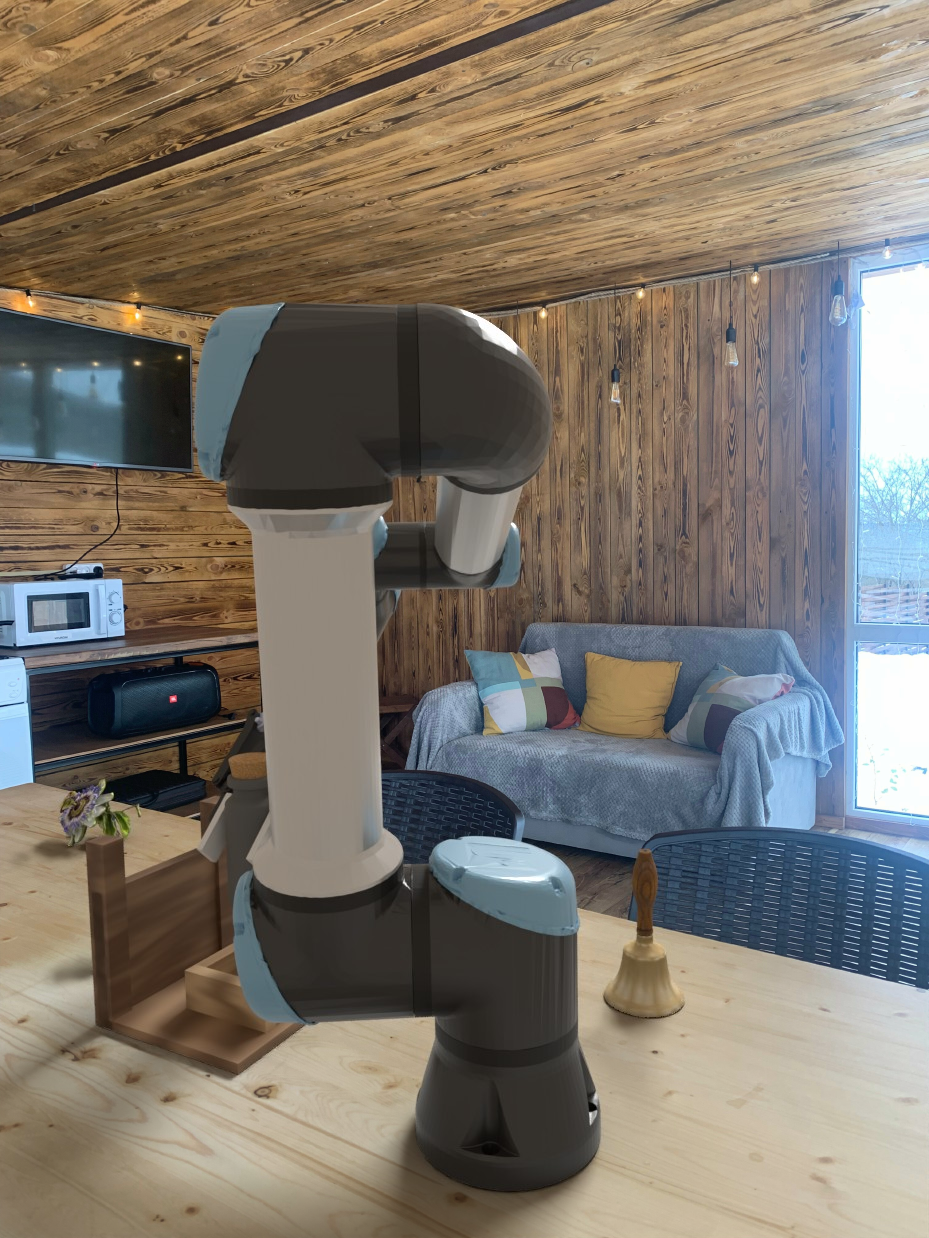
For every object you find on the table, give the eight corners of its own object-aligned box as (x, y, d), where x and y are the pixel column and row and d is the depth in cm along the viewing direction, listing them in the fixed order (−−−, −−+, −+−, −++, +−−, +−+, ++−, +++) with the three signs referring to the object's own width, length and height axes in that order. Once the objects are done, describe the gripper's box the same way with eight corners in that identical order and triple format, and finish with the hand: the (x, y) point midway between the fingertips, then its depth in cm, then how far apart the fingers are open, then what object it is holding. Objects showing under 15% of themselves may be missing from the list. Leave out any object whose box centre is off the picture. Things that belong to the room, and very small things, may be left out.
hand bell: (701, 1000, 96) (702, 851, 94) (647, 1027, 90) (647, 870, 89) (640, 971, 102) (640, 831, 101) (587, 995, 97) (586, 848, 96)
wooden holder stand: (353, 988, 99) (348, 816, 98) (238, 1074, 84) (230, 871, 82) (222, 953, 109) (215, 795, 107) (95, 1024, 93) (85, 841, 91)
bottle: (298, 895, 96) (293, 754, 95) (257, 915, 91) (251, 767, 90) (257, 884, 99) (252, 748, 98) (216, 903, 94) (210, 760, 93)
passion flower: (75, 878, 149) (38, 816, 151) (132, 847, 157) (97, 788, 159) (99, 852, 142) (60, 788, 144) (157, 822, 150) (120, 761, 152)
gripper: (408, 699, 102) (323, 893, 90) (277, 688, 111) (182, 863, 99) (380, 658, 97) (286, 857, 84) (245, 650, 106) (141, 829, 93)
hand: (230, 860), depth 92 cm, fingers closed on bottle, 6 cm apart
